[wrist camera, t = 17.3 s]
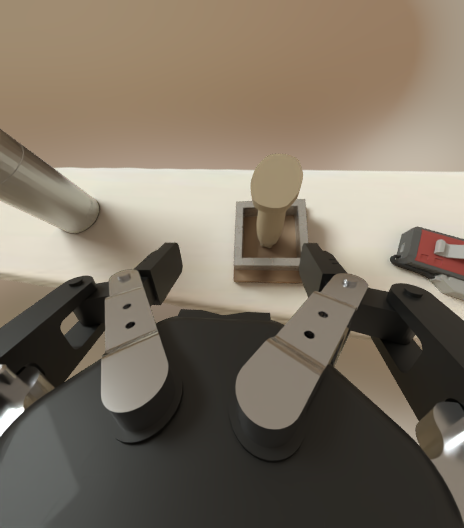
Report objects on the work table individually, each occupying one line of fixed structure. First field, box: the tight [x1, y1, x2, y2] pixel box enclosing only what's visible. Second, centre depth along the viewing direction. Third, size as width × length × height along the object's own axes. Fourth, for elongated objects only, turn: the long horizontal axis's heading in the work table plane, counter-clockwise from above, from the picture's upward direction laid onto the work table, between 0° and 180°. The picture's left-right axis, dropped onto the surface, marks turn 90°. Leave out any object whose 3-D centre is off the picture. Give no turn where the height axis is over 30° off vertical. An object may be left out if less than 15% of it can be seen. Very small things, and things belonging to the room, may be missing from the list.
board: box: [234, 215, 302, 283], centre depth 34 cm, size 12×15×2 cm
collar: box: [234, 199, 308, 271], centre depth 31 cm, size 11×11×3 cm
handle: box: [251, 154, 303, 248], centre depth 26 cm, size 5×6×15 cm
